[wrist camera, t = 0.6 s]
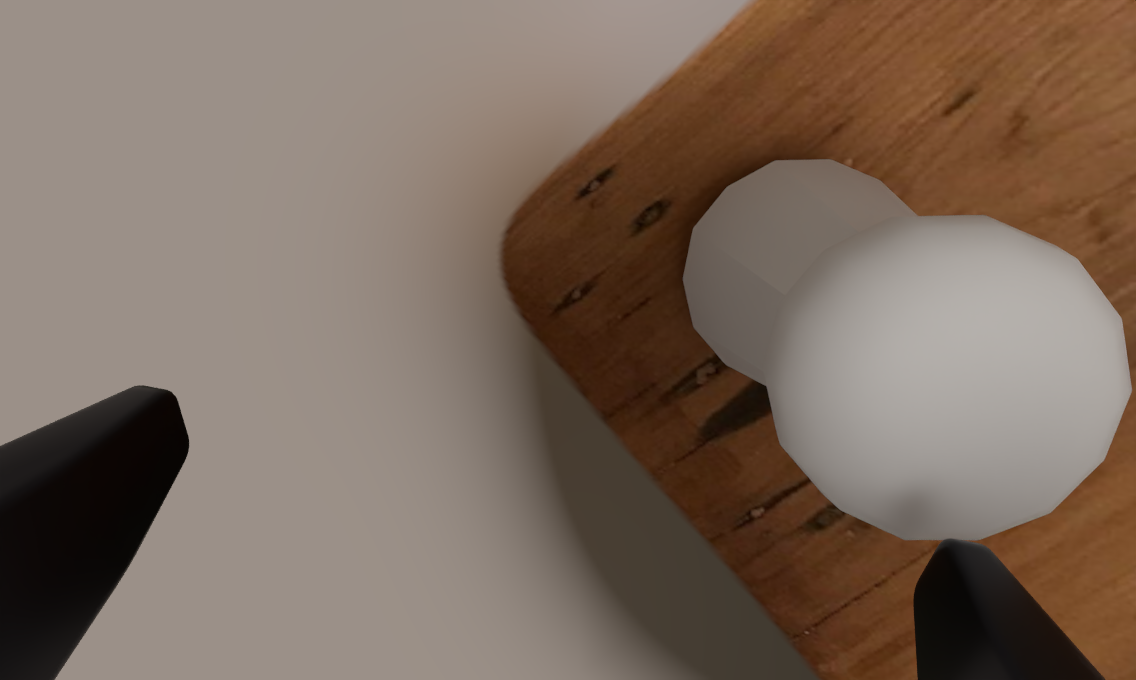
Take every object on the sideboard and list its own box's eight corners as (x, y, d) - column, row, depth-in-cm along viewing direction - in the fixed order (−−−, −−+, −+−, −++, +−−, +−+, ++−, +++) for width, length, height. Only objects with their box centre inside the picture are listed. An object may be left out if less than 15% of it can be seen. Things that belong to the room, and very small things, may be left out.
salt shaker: (639, 250, 22) (620, 365, 9) (802, 114, 21) (1040, 29, 8) (766, 401, 22) (910, 704, 10) (932, 277, 21) (1346, 444, 8)
